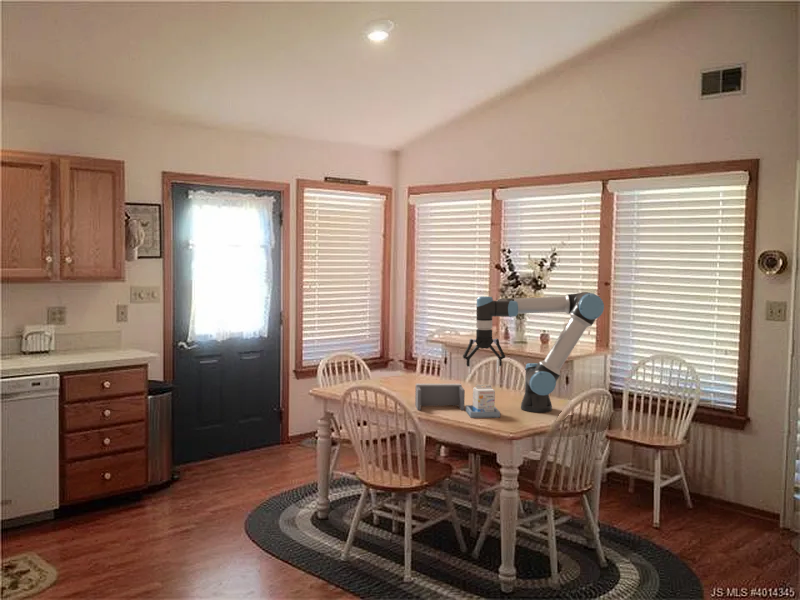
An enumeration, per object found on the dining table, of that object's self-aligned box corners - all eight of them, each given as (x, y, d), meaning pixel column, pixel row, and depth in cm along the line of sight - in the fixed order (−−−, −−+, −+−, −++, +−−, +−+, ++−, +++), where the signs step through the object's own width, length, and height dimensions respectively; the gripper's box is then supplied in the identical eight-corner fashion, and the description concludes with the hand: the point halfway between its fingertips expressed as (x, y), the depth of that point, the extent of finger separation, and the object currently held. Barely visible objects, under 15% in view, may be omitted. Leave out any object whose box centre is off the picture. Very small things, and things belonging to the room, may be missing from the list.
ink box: (477, 415, 337) (478, 387, 336) (472, 411, 345) (472, 383, 344) (494, 414, 339) (495, 386, 338) (489, 410, 347) (489, 383, 346)
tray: (493, 410, 350) (493, 405, 350) (500, 417, 335) (500, 412, 335) (465, 410, 349) (465, 405, 349) (470, 417, 334) (470, 412, 334)
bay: (460, 404, 362) (460, 383, 361) (464, 410, 349) (464, 388, 348) (415, 404, 360) (415, 383, 360) (417, 410, 348) (417, 388, 347)
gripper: (508, 327, 344) (507, 371, 345) (457, 328, 342) (456, 372, 343) (511, 329, 336) (511, 374, 338) (459, 329, 334) (459, 374, 336)
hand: (483, 373), depth 340 cm, fingers open, 13 cm apart
